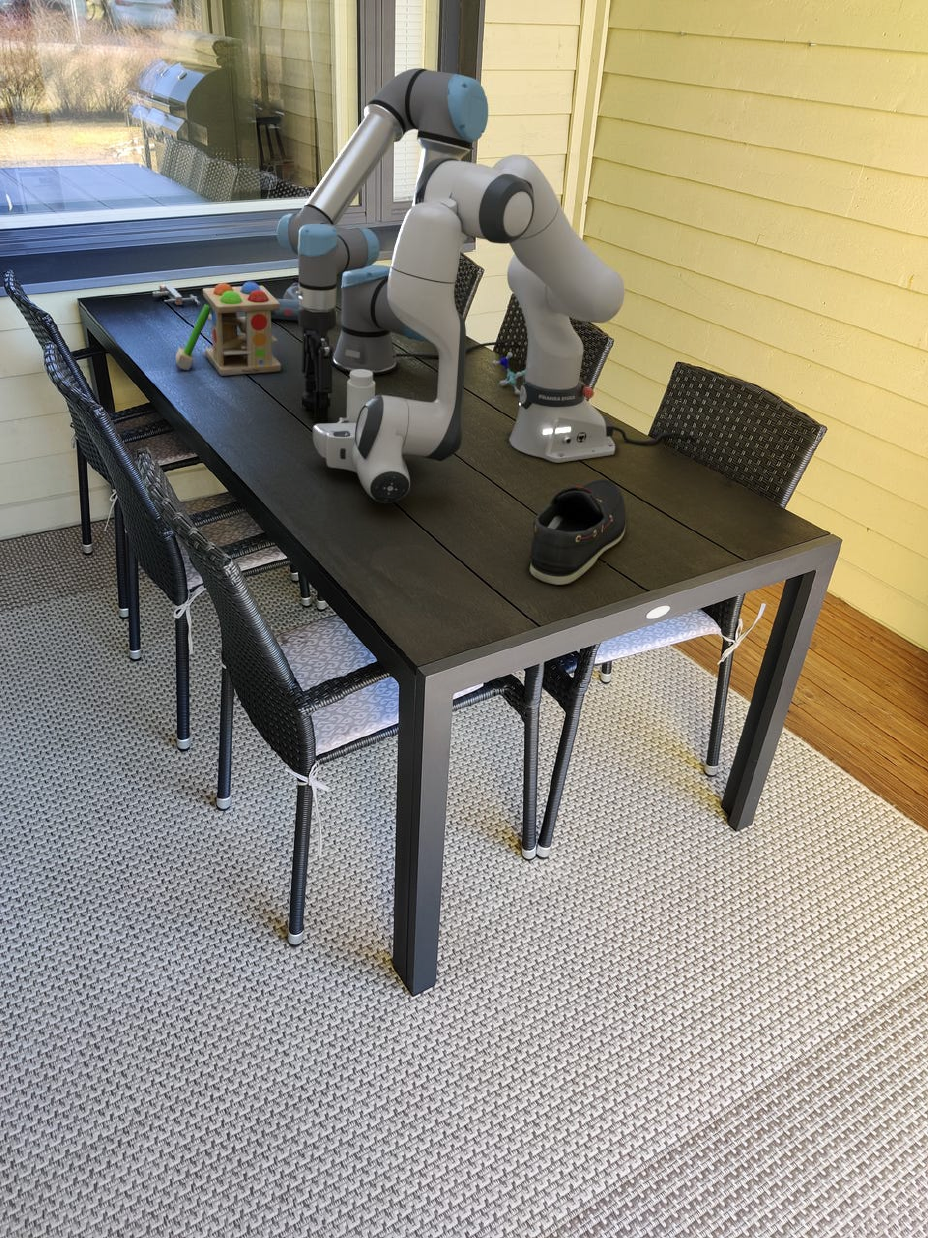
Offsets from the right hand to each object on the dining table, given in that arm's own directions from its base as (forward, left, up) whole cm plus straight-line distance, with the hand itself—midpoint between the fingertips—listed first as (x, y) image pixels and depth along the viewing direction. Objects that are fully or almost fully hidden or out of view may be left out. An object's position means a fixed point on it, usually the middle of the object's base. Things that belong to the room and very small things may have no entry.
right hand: (359, 420), depth 195 cm
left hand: (+6, -18, -6) cm, 20 cm away
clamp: (+33, -97, -6) cm, 103 cm away
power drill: (-1, -87, -6) cm, 87 cm away
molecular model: (-43, -30, -6) cm, 53 cm away
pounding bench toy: (+23, -48, -6) cm, 54 cm away
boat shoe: (-32, +42, -6) cm, 53 cm away
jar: (0, +1, -6) cm, 6 cm away
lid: (+6, -18, -2) cm, 19 cm away
